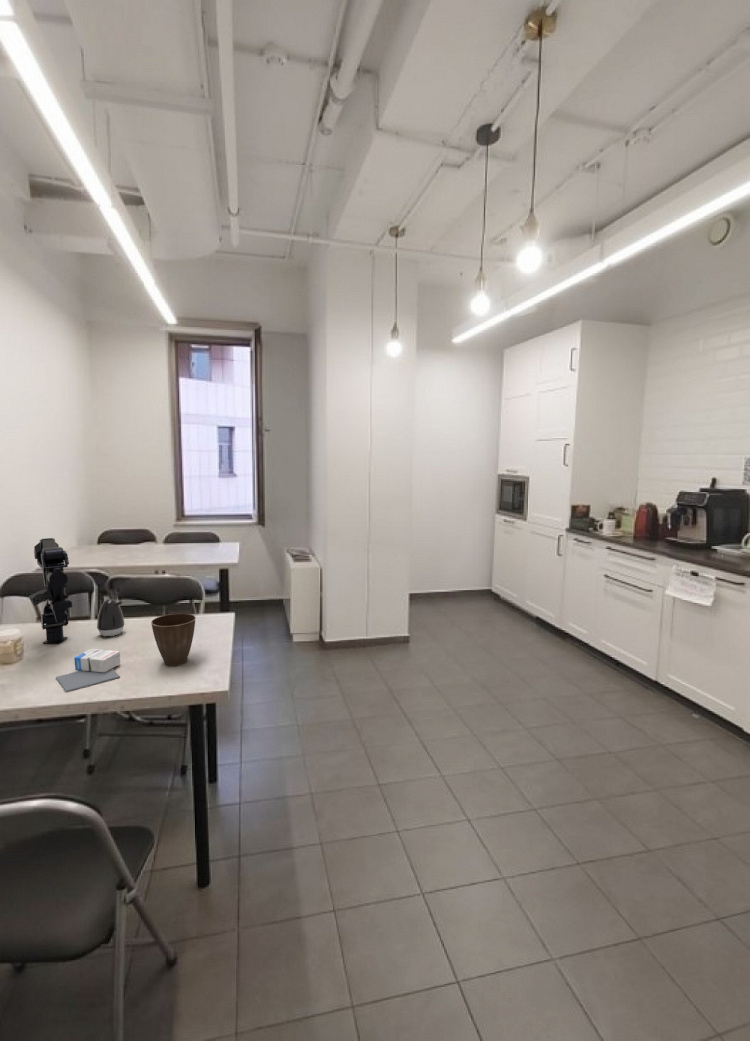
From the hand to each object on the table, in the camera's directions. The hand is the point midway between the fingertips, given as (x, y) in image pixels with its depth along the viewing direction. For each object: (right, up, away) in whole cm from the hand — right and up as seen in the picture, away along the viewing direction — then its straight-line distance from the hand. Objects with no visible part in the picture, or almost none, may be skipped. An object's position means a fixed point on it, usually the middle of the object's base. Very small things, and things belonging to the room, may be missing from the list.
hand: (58, 622), depth 193 cm
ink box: (+16, -11, -11) cm, 22 cm away
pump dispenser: (+9, -10, +22) cm, 26 cm away
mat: (+22, -15, -20) cm, 33 cm away
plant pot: (+46, -13, -6) cm, 49 cm away
